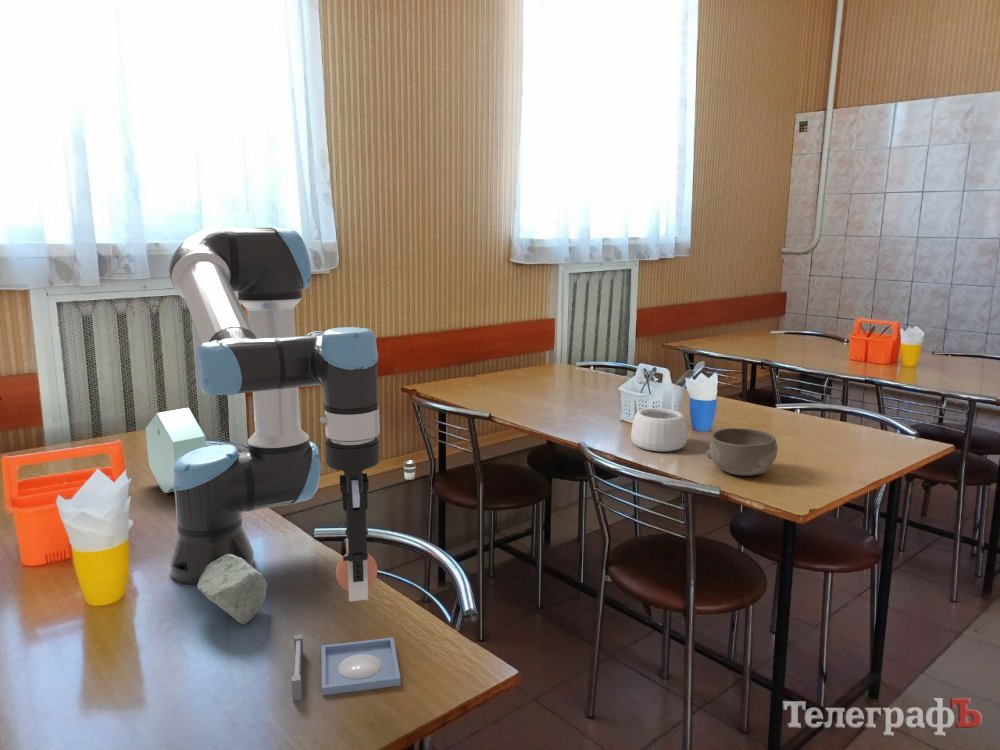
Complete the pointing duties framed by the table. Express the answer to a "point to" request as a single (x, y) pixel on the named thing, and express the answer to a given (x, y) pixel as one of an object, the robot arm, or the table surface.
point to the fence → (297, 668)
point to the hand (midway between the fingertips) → (357, 588)
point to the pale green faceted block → (171, 443)
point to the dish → (359, 666)
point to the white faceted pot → (659, 429)
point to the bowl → (742, 451)
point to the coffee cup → (409, 469)
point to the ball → (343, 571)
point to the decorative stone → (234, 587)
